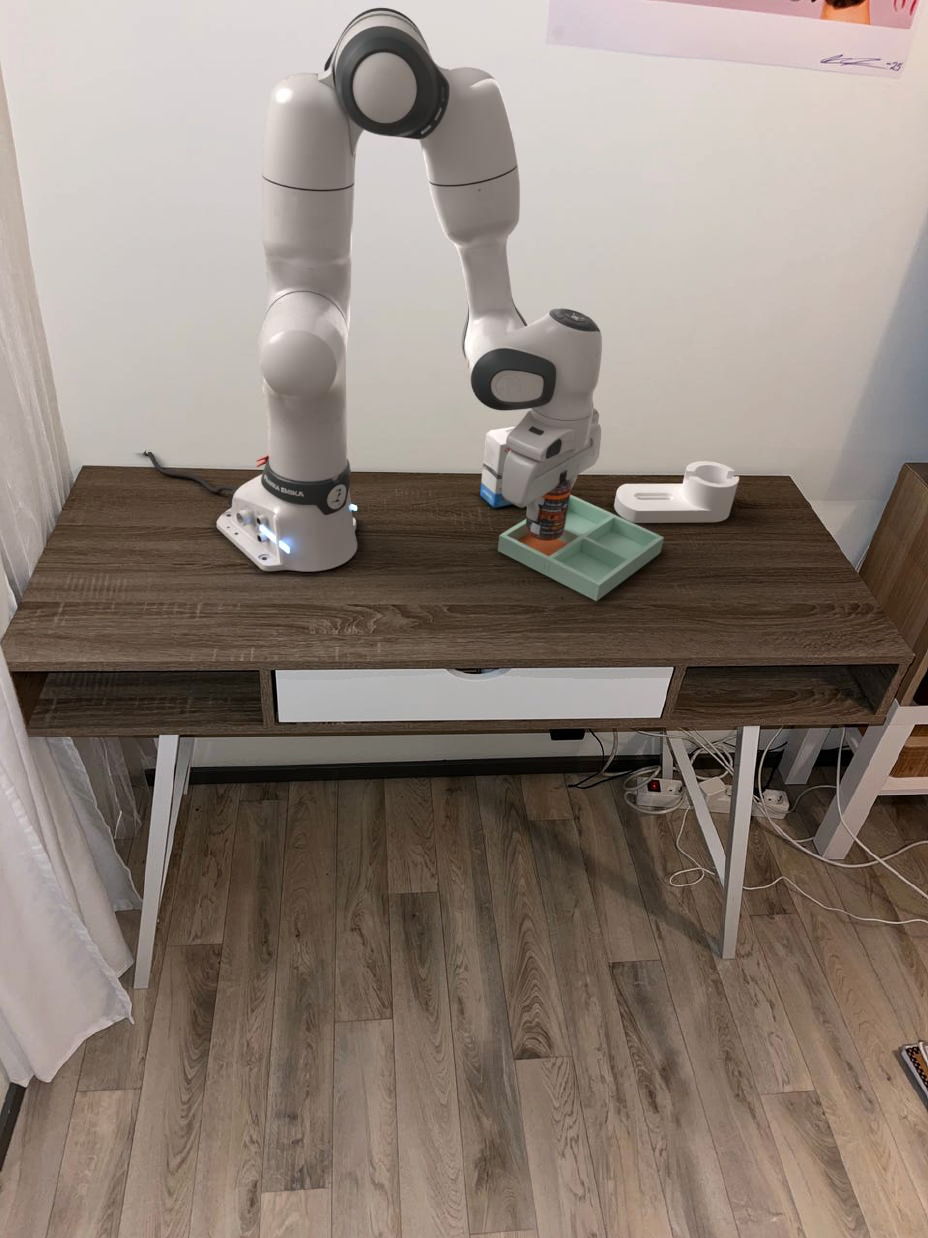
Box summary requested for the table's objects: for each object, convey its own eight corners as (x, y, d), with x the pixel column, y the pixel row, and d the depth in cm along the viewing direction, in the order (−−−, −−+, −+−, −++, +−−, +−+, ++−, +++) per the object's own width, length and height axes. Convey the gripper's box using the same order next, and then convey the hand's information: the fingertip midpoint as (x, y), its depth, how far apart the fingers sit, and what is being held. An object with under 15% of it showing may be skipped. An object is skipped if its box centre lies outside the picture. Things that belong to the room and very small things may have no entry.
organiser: (497, 550, 156) (499, 534, 154) (565, 508, 168) (567, 493, 166) (596, 601, 147) (599, 585, 145) (660, 552, 159) (664, 537, 157)
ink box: (493, 509, 166) (500, 444, 158) (478, 494, 169) (485, 430, 162) (537, 499, 169) (546, 436, 162) (522, 485, 173) (530, 423, 165)
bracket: (719, 495, 175) (728, 461, 171) (736, 521, 168) (746, 487, 164) (608, 495, 172) (614, 460, 168) (621, 523, 165) (628, 487, 161)
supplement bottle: (537, 545, 151) (546, 479, 144) (517, 526, 155) (525, 460, 148) (571, 538, 154) (581, 472, 147) (550, 518, 158) (560, 454, 151)
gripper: (582, 396, 152) (569, 477, 160) (498, 439, 139) (489, 525, 147) (617, 410, 149) (602, 492, 157) (535, 456, 136) (524, 542, 144)
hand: (547, 508), depth 152 cm, fingers closed on supplement bottle, 6 cm apart
